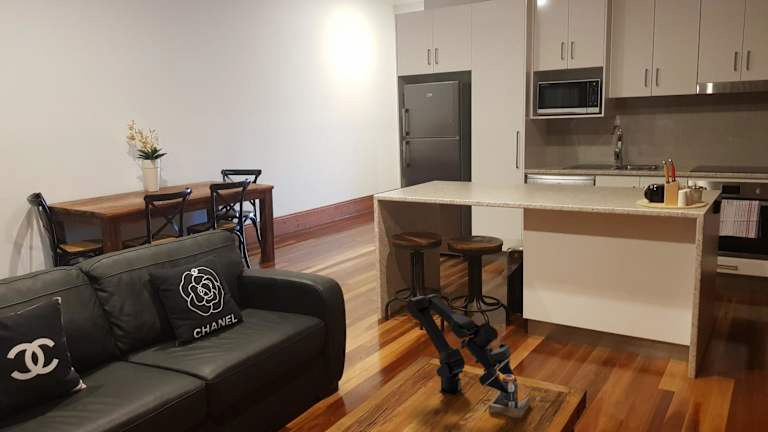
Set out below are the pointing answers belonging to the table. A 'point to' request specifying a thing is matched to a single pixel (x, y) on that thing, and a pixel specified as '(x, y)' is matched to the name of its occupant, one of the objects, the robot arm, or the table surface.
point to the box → (508, 411)
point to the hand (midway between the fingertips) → (512, 387)
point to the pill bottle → (512, 396)
